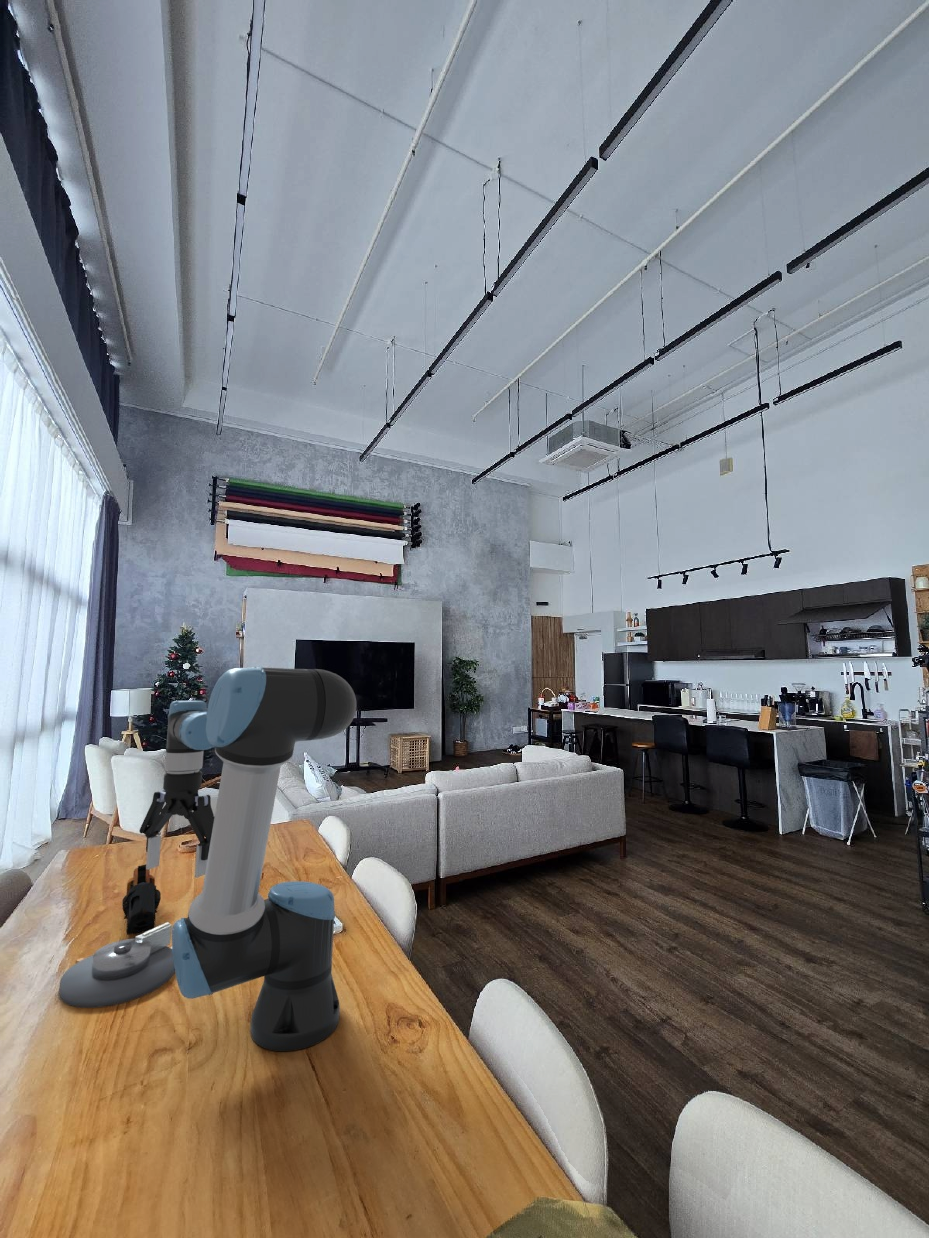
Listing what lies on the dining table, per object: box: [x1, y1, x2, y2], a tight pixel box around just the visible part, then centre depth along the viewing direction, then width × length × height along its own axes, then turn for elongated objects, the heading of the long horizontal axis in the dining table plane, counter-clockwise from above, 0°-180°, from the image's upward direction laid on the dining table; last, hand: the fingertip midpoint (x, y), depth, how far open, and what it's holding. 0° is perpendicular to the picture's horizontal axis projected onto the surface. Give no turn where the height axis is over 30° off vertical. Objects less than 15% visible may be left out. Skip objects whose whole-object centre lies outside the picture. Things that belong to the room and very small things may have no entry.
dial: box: [92, 921, 173, 980], centre depth 113 cm, size 16×10×4 cm, turn 158°
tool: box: [121, 864, 162, 936], centre depth 136 cm, size 8×23×15 cm, turn 31°
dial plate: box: [58, 946, 176, 1009], centre depth 112 cm, size 22×22×2 cm
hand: (176, 871), depth 118 cm, fingers open, 13 cm apart
